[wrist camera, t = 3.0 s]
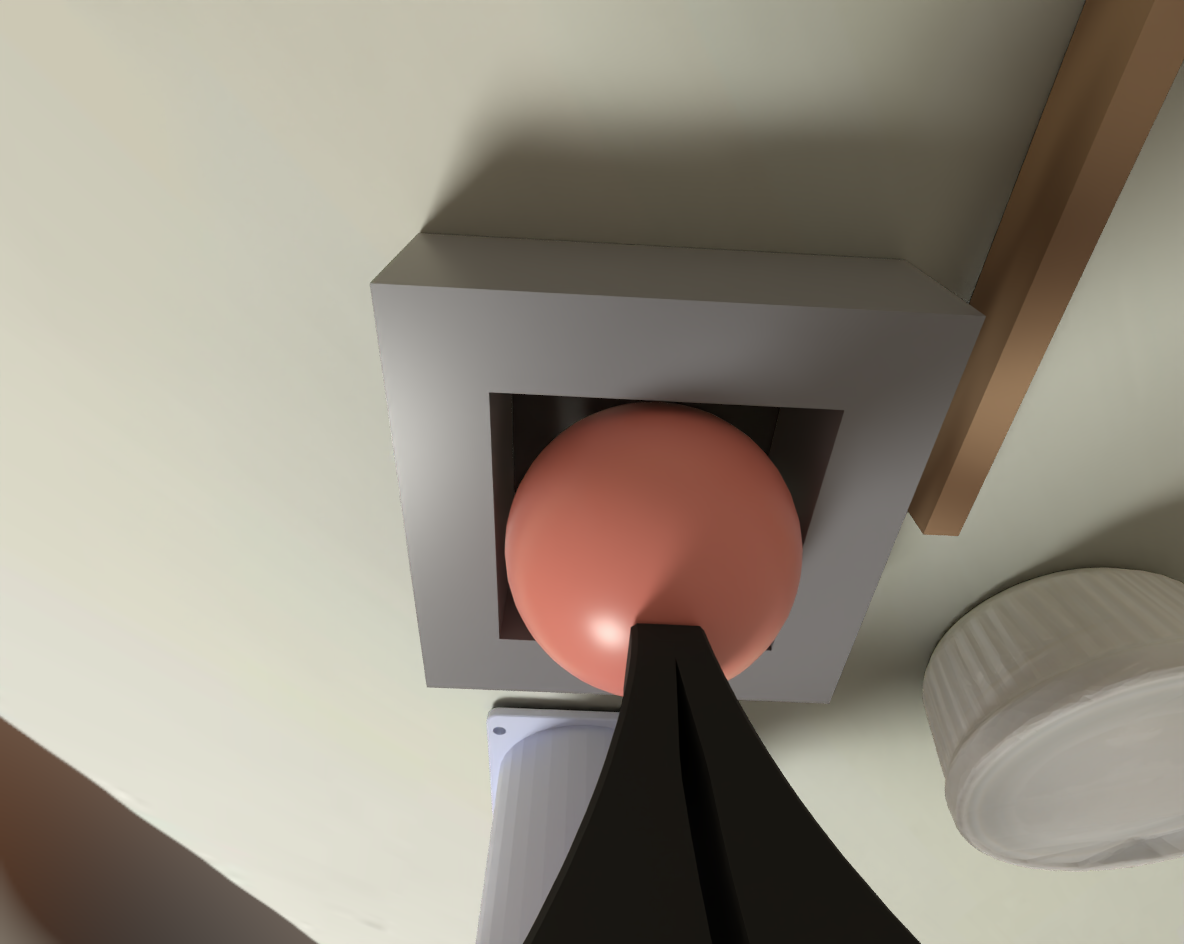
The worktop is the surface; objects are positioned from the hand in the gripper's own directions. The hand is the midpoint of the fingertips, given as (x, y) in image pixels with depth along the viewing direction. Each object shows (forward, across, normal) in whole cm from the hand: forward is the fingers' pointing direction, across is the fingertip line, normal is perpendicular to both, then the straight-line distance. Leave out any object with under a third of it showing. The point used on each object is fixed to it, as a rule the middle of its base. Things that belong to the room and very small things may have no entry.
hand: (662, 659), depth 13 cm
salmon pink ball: (+7, 0, 0) cm, 7 cm away
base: (+8, 0, 0) cm, 8 cm away
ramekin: (+8, -16, +8) cm, 20 cm away
